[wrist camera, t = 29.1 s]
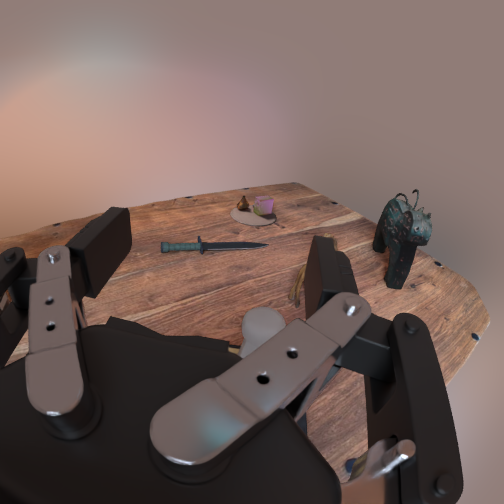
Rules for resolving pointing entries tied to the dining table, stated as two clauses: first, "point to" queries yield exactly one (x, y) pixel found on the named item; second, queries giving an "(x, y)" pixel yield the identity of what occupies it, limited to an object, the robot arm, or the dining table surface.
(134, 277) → the dining table surface
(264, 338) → the salt shaker
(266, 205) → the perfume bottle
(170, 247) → the knife
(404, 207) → the ceramic cat
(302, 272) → the lion figurine
